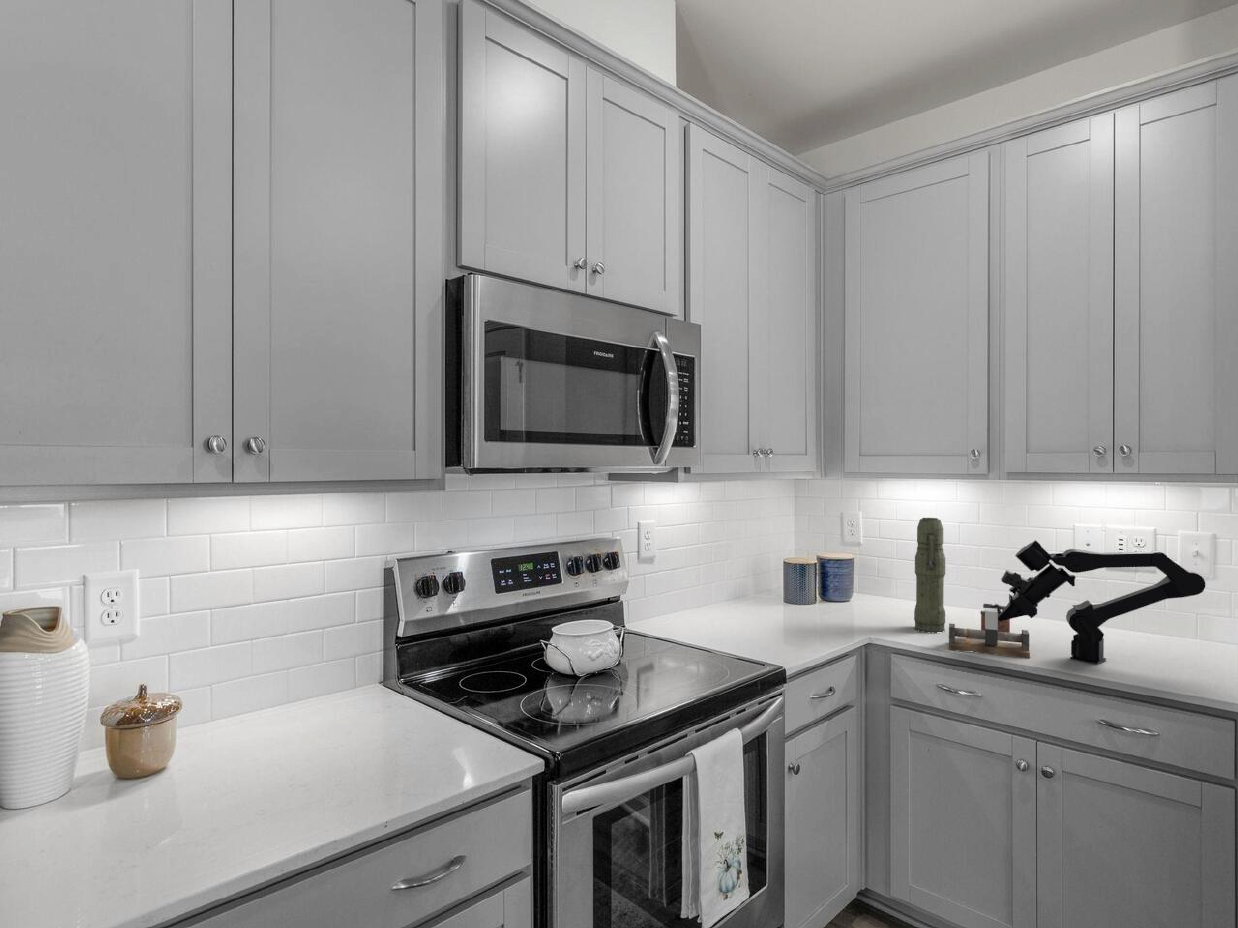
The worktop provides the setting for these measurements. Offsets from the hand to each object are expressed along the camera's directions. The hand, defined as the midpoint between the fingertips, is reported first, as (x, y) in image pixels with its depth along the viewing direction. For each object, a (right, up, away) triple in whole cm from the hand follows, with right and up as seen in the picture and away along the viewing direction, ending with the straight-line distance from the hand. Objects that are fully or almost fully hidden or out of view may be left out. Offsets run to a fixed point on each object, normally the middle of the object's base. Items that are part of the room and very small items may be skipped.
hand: (998, 619), depth 205 cm
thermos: (-9, -9, +25) cm, 28 cm away
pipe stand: (-2, -9, +1) cm, 9 cm away
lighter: (+7, -9, +16) cm, 19 cm away
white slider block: (-2, -7, +1) cm, 7 cm away
